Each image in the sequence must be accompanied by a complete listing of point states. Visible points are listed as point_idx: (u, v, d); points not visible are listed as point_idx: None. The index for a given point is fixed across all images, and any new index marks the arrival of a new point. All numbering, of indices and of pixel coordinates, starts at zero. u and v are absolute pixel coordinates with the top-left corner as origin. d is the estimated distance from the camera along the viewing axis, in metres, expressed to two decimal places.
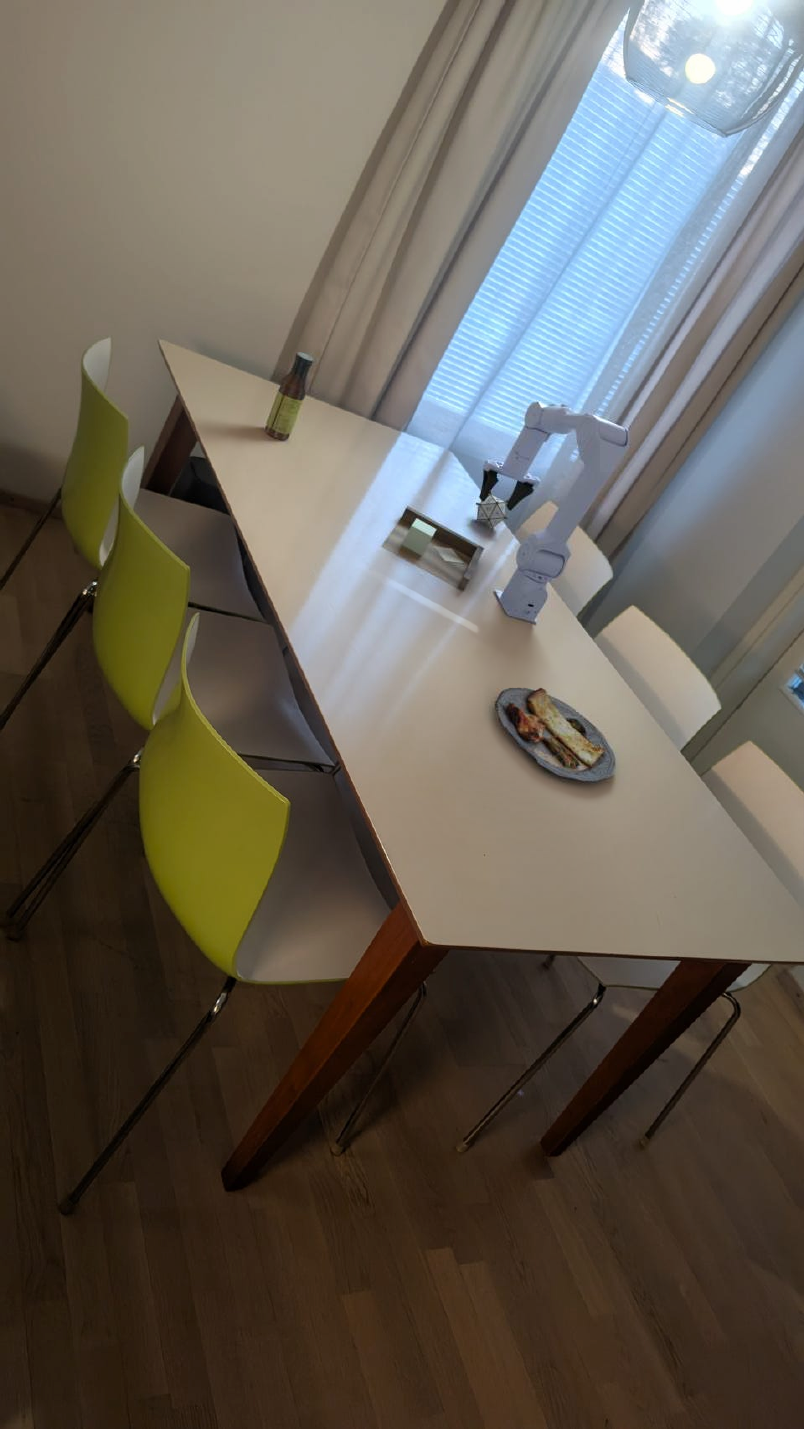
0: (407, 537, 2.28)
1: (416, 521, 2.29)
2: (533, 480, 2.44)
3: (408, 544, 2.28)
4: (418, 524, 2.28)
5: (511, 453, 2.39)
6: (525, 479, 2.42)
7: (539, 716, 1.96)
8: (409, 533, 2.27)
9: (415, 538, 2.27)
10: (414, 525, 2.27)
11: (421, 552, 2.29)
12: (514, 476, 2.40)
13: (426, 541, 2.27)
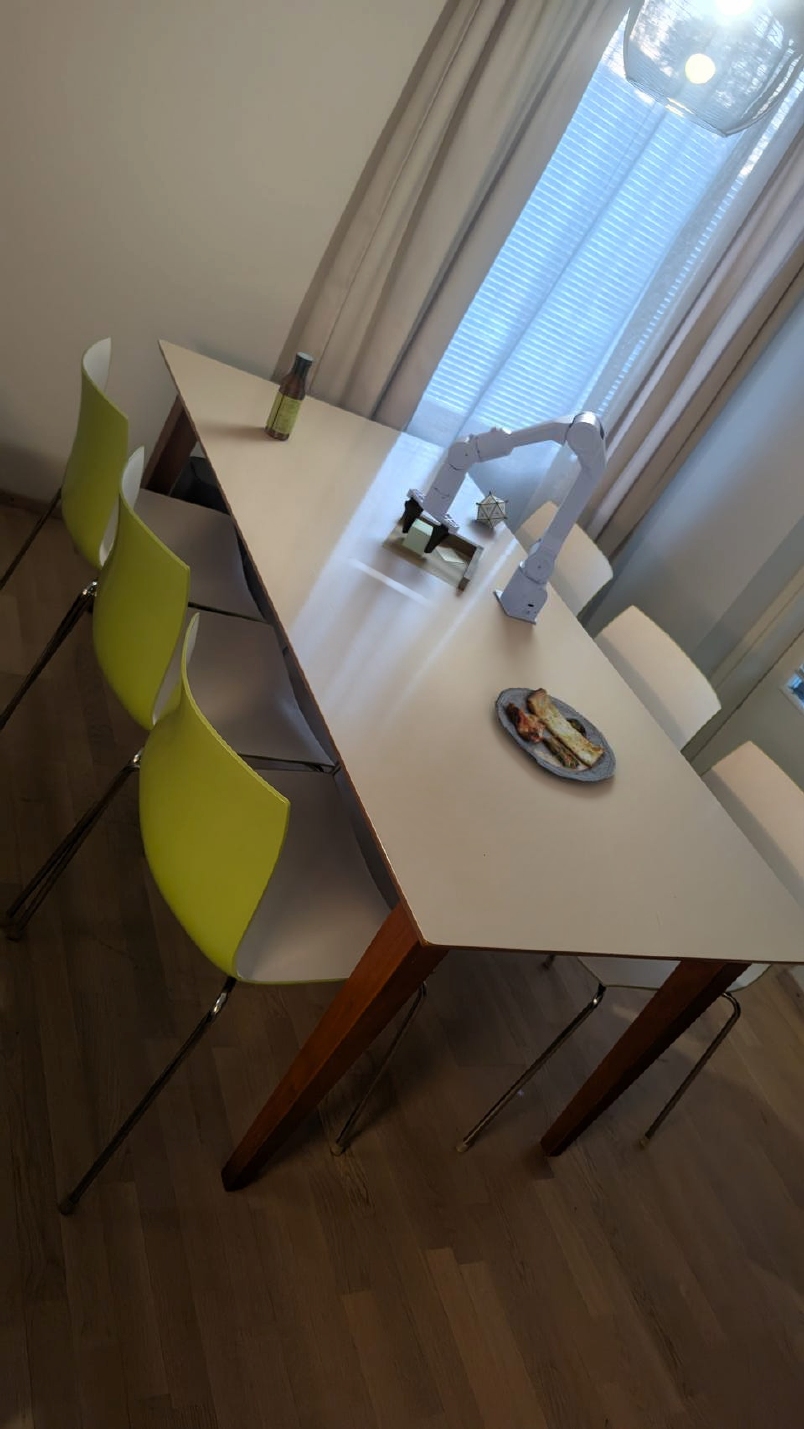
0: (407, 537, 2.28)
1: (416, 521, 2.29)
2: (446, 522, 2.23)
3: (408, 544, 2.28)
4: (418, 524, 2.28)
5: None
6: (435, 515, 2.23)
7: (539, 716, 1.96)
8: (409, 533, 2.27)
9: (415, 538, 2.27)
10: (414, 525, 2.27)
11: (421, 552, 2.29)
12: (423, 506, 2.24)
13: (426, 541, 2.27)
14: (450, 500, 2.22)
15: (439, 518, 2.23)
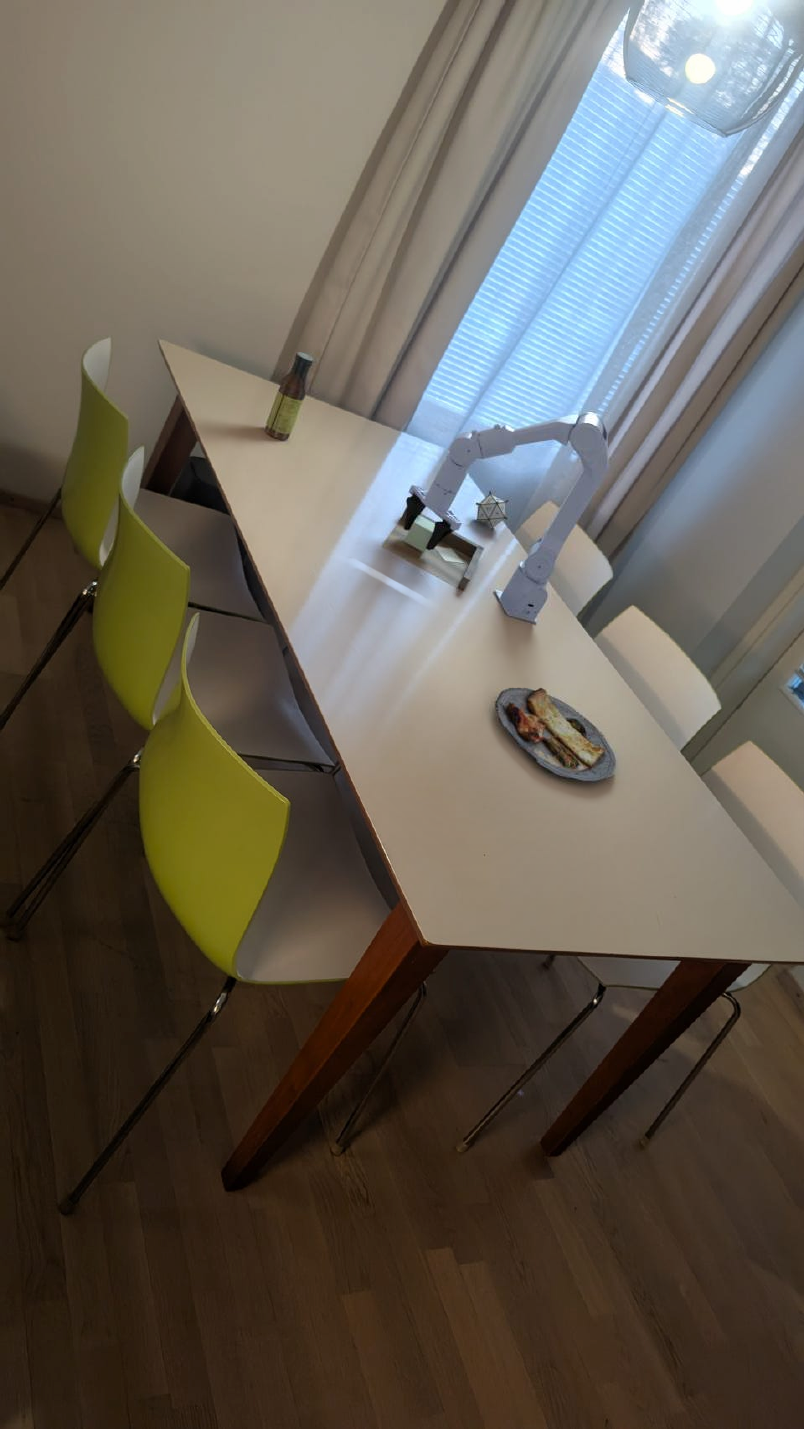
0: (409, 534, 2.27)
1: (418, 517, 2.28)
2: (448, 518, 2.22)
3: (410, 541, 2.28)
4: (420, 521, 2.27)
5: None
6: (437, 511, 2.22)
7: (539, 716, 1.96)
8: (411, 529, 2.27)
9: (417, 534, 2.27)
10: (416, 521, 2.26)
11: (423, 549, 2.28)
12: (425, 502, 2.23)
13: (428, 538, 2.27)
14: (452, 496, 2.22)
15: (441, 514, 2.22)
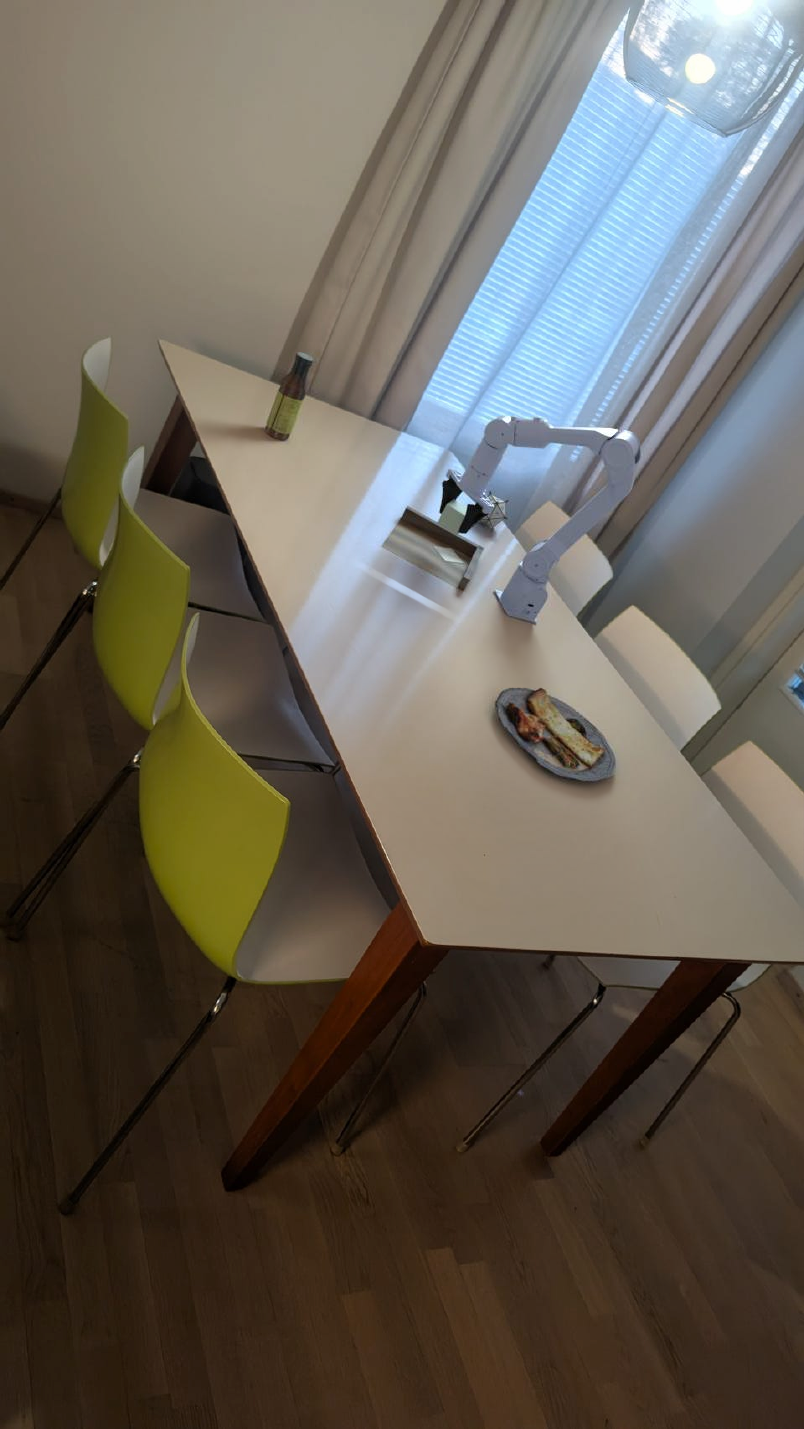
0: (442, 516, 2.27)
1: (453, 501, 2.29)
2: (481, 501, 2.22)
3: (443, 523, 2.28)
4: (454, 504, 2.27)
5: None
6: (470, 494, 2.22)
7: (539, 716, 1.96)
8: (444, 512, 2.27)
9: (449, 517, 2.27)
10: (449, 504, 2.26)
11: (455, 532, 2.28)
12: (459, 485, 2.23)
13: (460, 521, 2.26)
14: (486, 479, 2.21)
15: (474, 497, 2.22)
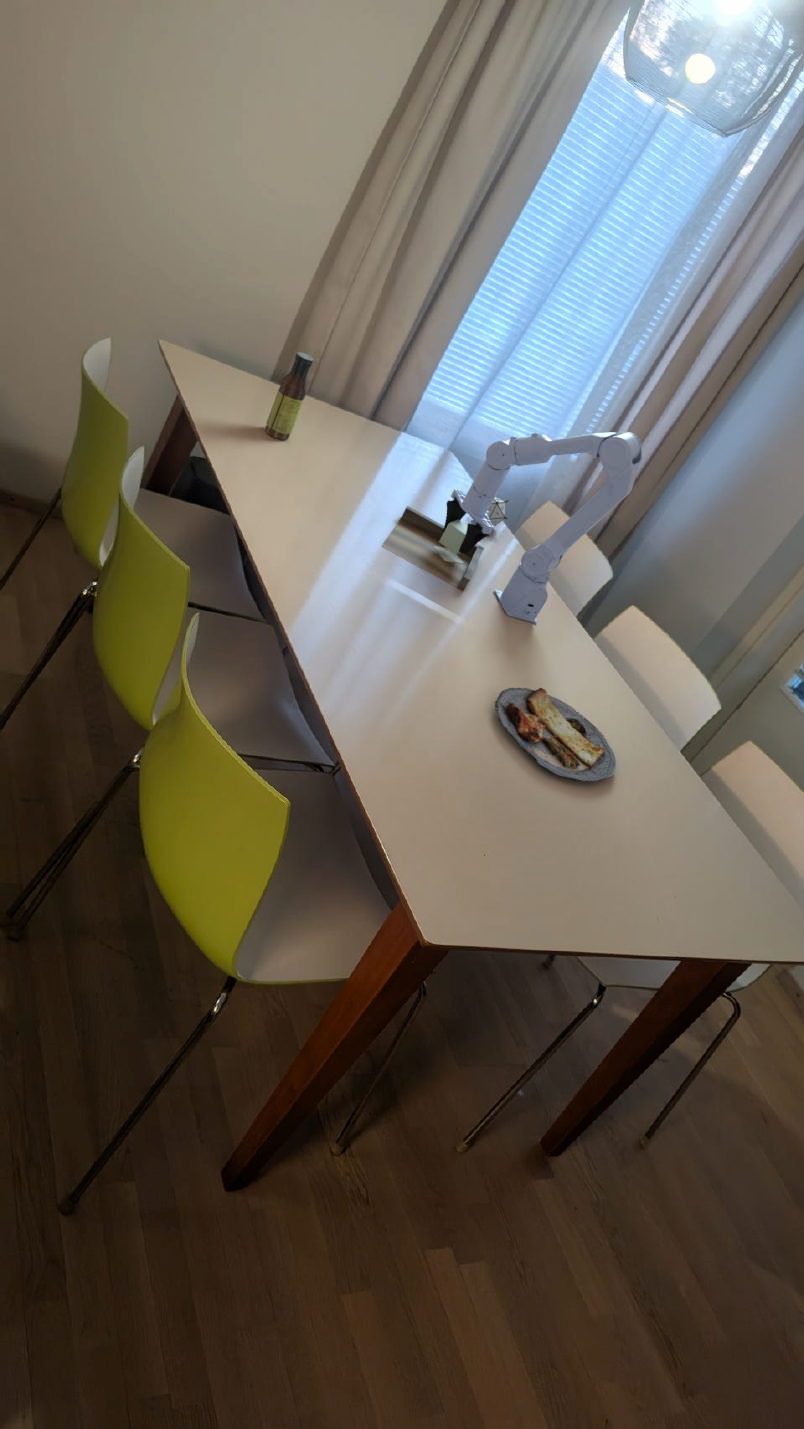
0: (444, 535, 2.31)
1: (456, 521, 2.33)
2: (481, 521, 2.25)
3: (444, 542, 2.32)
4: (457, 524, 2.32)
5: None
6: (471, 514, 2.26)
7: (539, 716, 1.96)
8: (446, 531, 2.31)
9: (451, 536, 2.31)
10: (452, 523, 2.31)
11: (456, 551, 2.31)
12: (461, 505, 2.28)
13: (461, 540, 2.30)
14: (487, 500, 2.25)
15: (474, 517, 2.26)
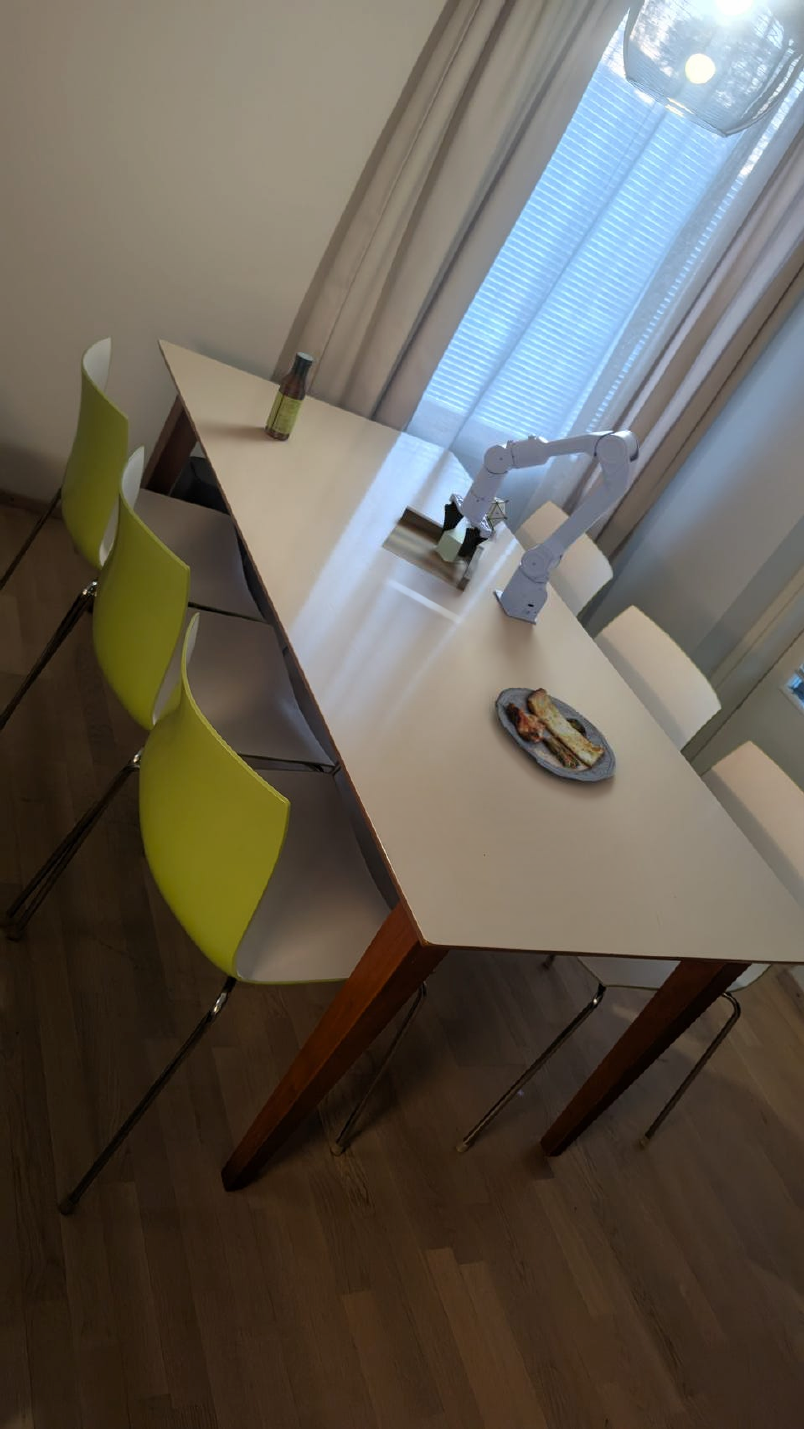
0: (439, 543, 2.33)
1: (452, 530, 2.34)
2: (479, 525, 2.26)
3: (440, 550, 2.33)
4: (452, 533, 2.33)
5: None
6: (469, 518, 2.27)
7: (539, 716, 1.96)
8: (442, 539, 2.32)
9: (447, 544, 2.32)
10: (447, 532, 2.32)
11: (451, 559, 2.32)
12: (459, 509, 2.28)
13: (457, 549, 2.31)
14: (485, 504, 2.26)
15: (472, 521, 2.26)
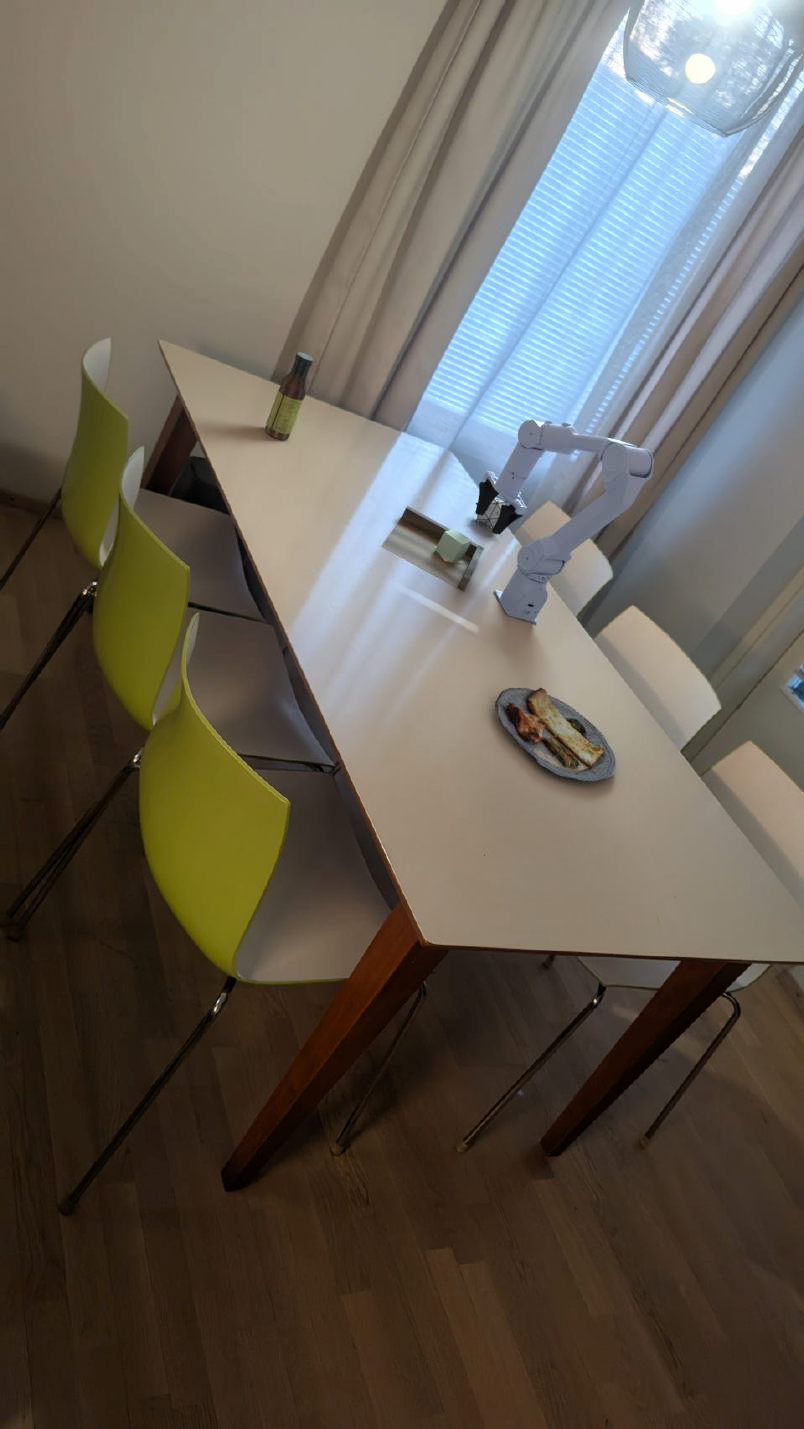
0: (439, 543, 2.33)
1: (452, 530, 2.34)
2: (514, 502, 2.29)
3: (440, 550, 2.33)
4: (452, 533, 2.33)
5: None
6: (504, 495, 2.29)
7: (539, 716, 1.96)
8: (442, 539, 2.32)
9: (447, 544, 2.32)
10: (447, 532, 2.32)
11: (451, 559, 2.32)
12: (495, 486, 2.31)
13: (457, 549, 2.31)
14: (520, 481, 2.29)
15: (508, 498, 2.29)
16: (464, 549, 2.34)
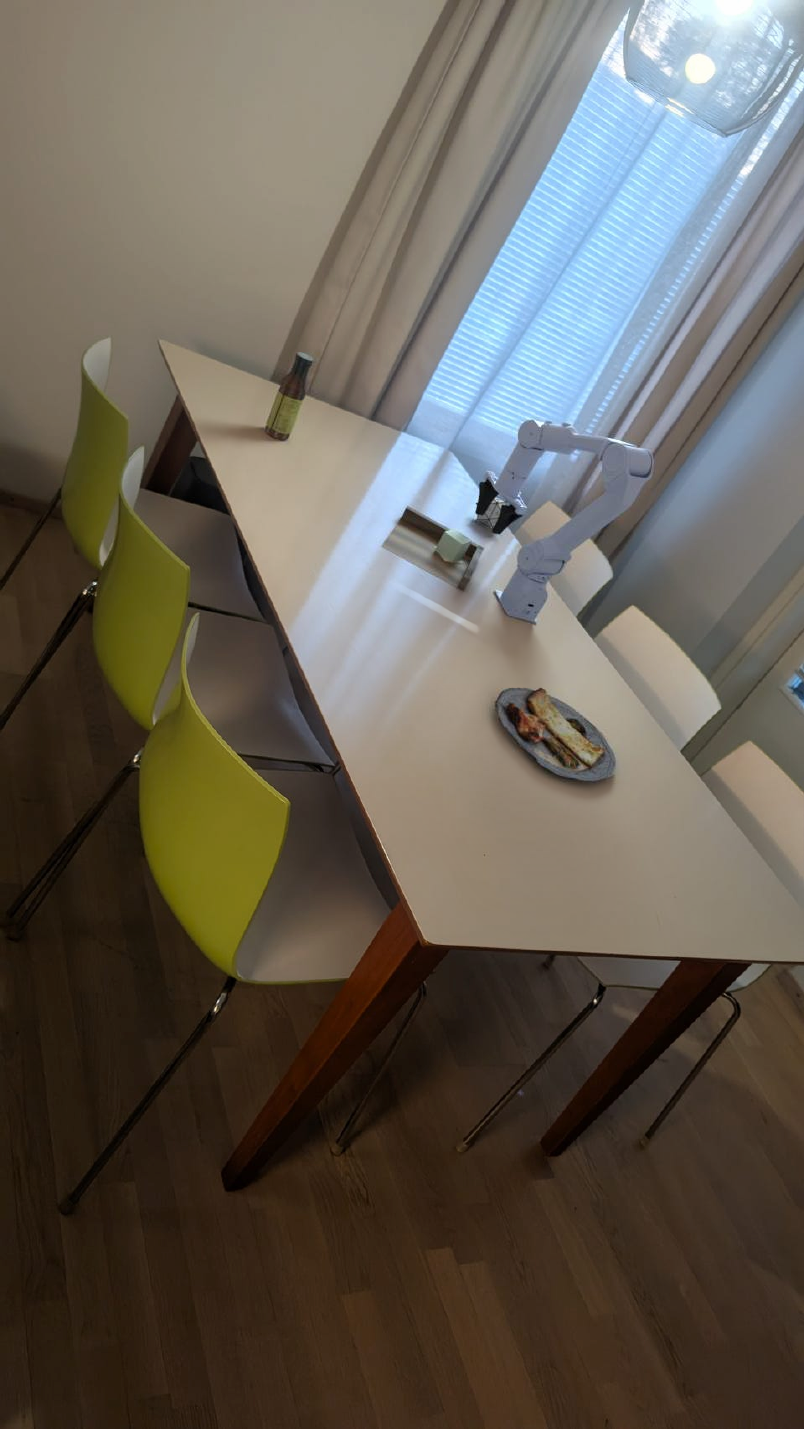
0: (439, 543, 2.33)
1: (452, 530, 2.34)
2: (514, 502, 2.29)
3: (440, 550, 2.33)
4: (452, 533, 2.33)
5: None
6: (504, 495, 2.29)
7: (539, 716, 1.96)
8: (442, 539, 2.32)
9: (447, 544, 2.32)
10: (447, 532, 2.32)
11: (451, 559, 2.32)
12: (495, 486, 2.31)
13: (457, 549, 2.31)
14: (520, 481, 2.29)
15: (508, 498, 2.29)
16: (464, 549, 2.34)
